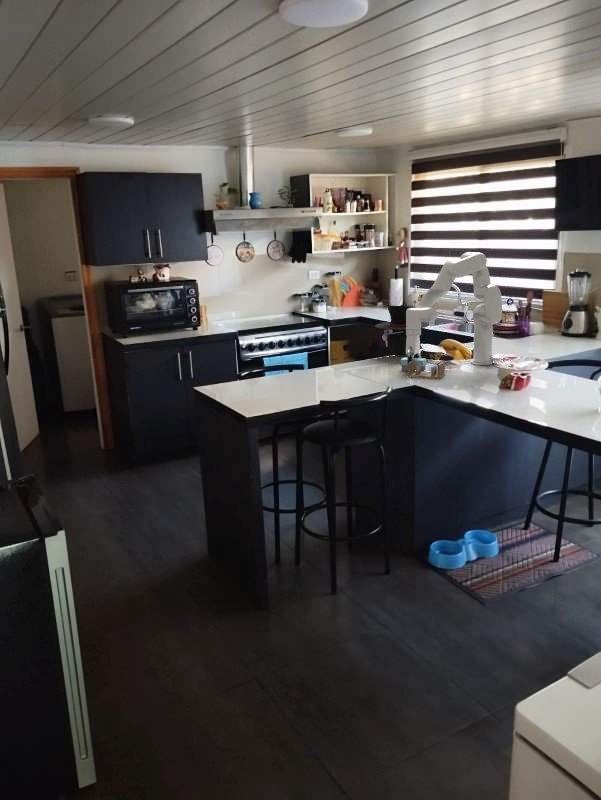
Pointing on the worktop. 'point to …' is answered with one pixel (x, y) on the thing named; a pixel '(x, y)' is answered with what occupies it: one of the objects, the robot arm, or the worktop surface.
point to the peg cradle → (435, 373)
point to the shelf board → (417, 361)
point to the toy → (397, 330)
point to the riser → (405, 367)
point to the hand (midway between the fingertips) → (413, 364)
